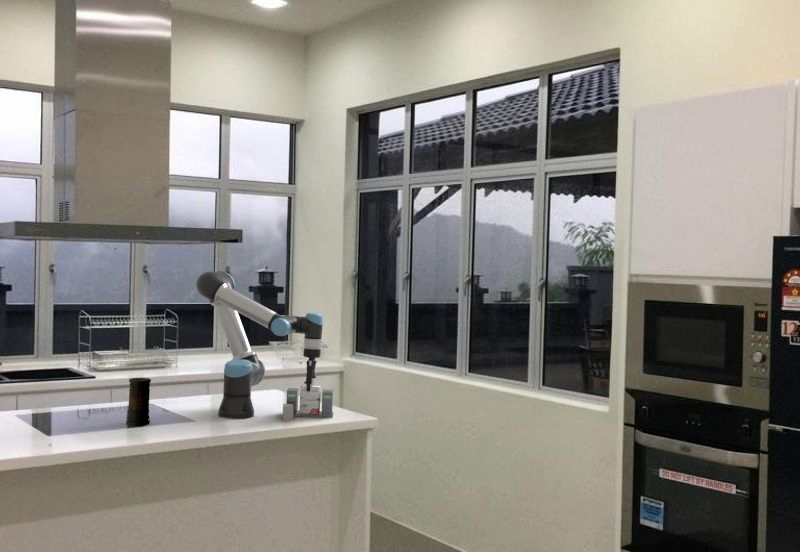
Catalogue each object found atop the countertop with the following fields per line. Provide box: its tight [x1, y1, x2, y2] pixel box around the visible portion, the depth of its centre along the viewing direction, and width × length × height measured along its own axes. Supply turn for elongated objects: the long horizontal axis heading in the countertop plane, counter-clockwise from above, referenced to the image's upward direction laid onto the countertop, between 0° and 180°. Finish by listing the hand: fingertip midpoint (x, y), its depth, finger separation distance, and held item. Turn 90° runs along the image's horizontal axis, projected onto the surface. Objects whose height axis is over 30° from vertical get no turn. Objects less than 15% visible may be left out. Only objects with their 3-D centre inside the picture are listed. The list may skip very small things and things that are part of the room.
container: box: [125, 377, 152, 427], centre depth 317 cm, size 9×9×18 cm
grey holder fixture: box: [285, 387, 335, 418], centre depth 351 cm, size 21×8×11 cm, turn 92°
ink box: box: [299, 384, 322, 414], centre depth 351 cm, size 9×5×12 cm, turn 88°
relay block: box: [282, 403, 294, 421], centre depth 340 cm, size 4×6×6 cm, turn 12°
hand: (309, 395), depth 351 cm, fingers open, 13 cm apart
